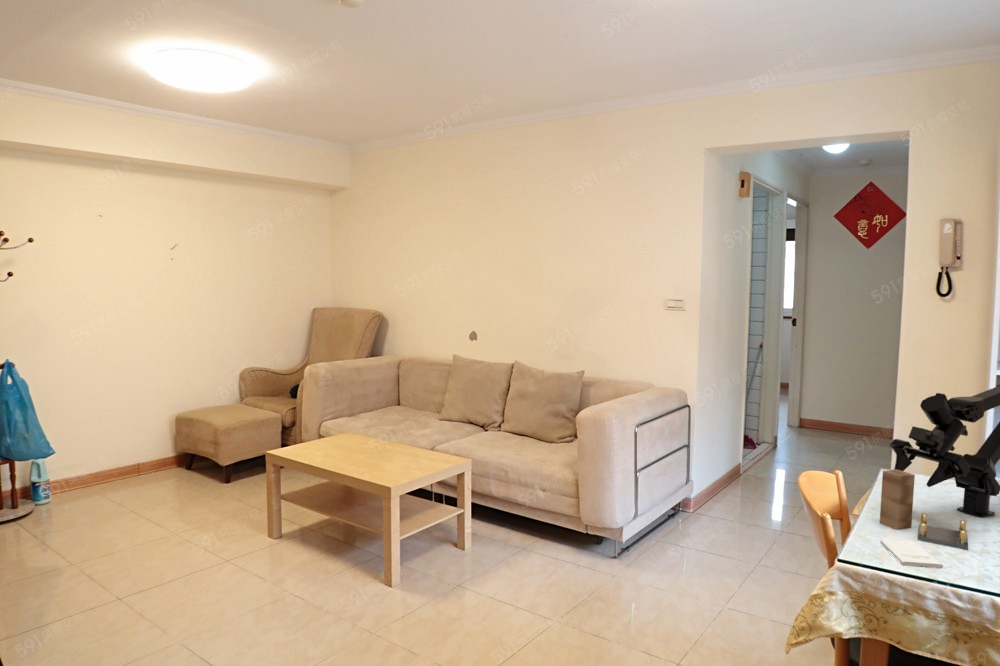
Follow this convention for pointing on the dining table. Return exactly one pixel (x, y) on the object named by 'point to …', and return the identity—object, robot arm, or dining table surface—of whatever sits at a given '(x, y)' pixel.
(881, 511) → the walnut post
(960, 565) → the dining table surface
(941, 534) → the plate
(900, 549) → the external hard drive
